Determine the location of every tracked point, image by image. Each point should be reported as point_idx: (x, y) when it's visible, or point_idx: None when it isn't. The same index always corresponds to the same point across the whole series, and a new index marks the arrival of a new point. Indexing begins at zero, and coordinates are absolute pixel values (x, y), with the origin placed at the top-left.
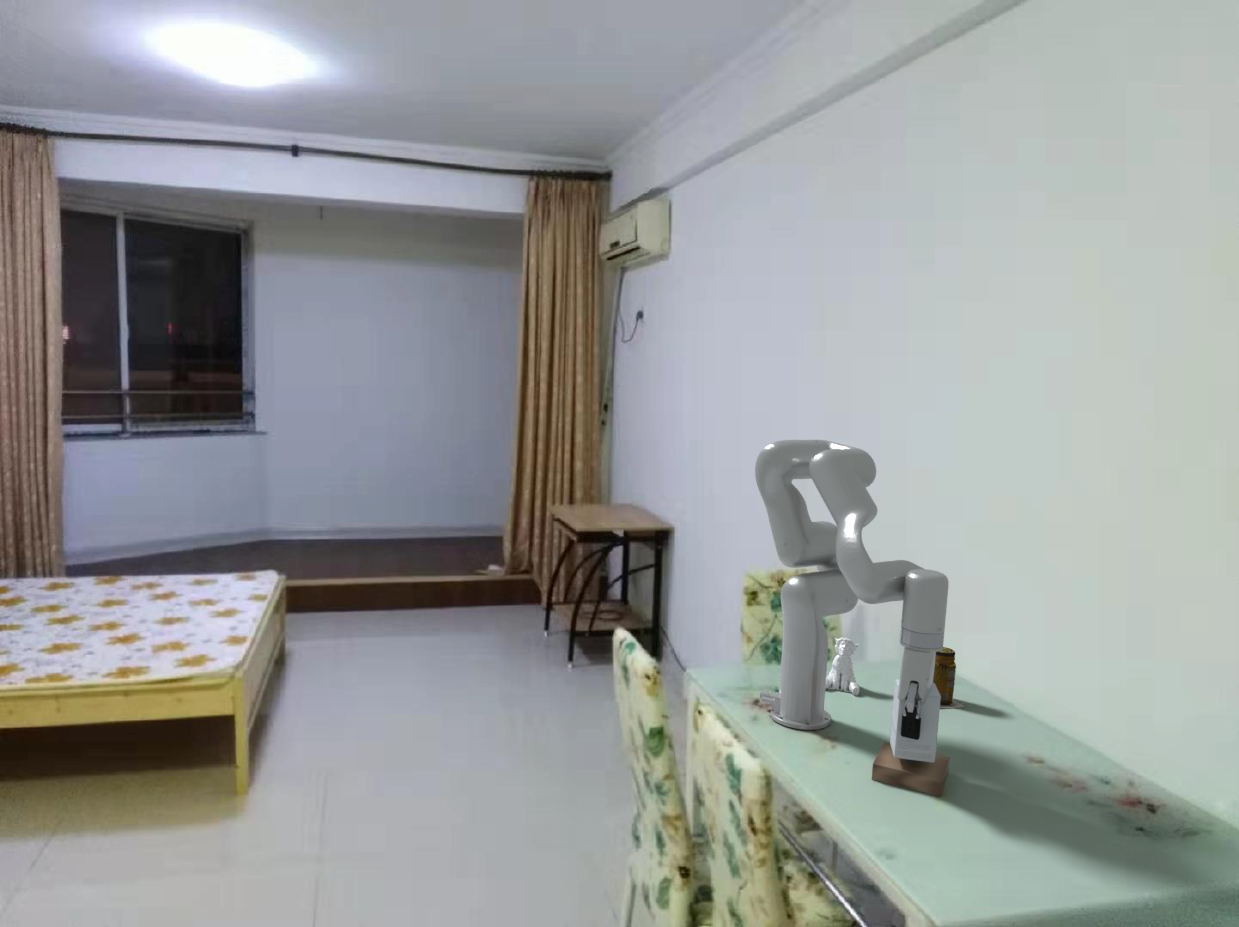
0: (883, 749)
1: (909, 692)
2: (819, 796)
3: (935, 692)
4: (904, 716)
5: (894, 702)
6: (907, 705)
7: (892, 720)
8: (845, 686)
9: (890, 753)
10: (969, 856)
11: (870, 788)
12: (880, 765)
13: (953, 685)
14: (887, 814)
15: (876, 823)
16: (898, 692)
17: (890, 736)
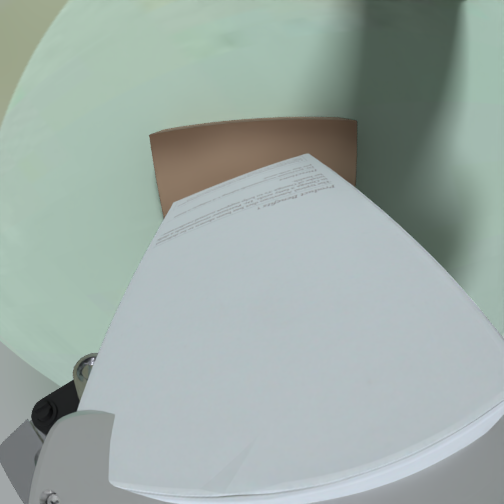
0: (293, 129)
1: (24, 501)
2: (22, 87)
3: None
4: (93, 358)
5: (300, 268)
6: (14, 435)
7: (297, 192)
8: None
9: (272, 158)
10: (57, 337)
11: (114, 147)
12: (154, 158)
13: None
14: (47, 222)
15: (15, 217)
16: (40, 463)
17: (304, 160)
